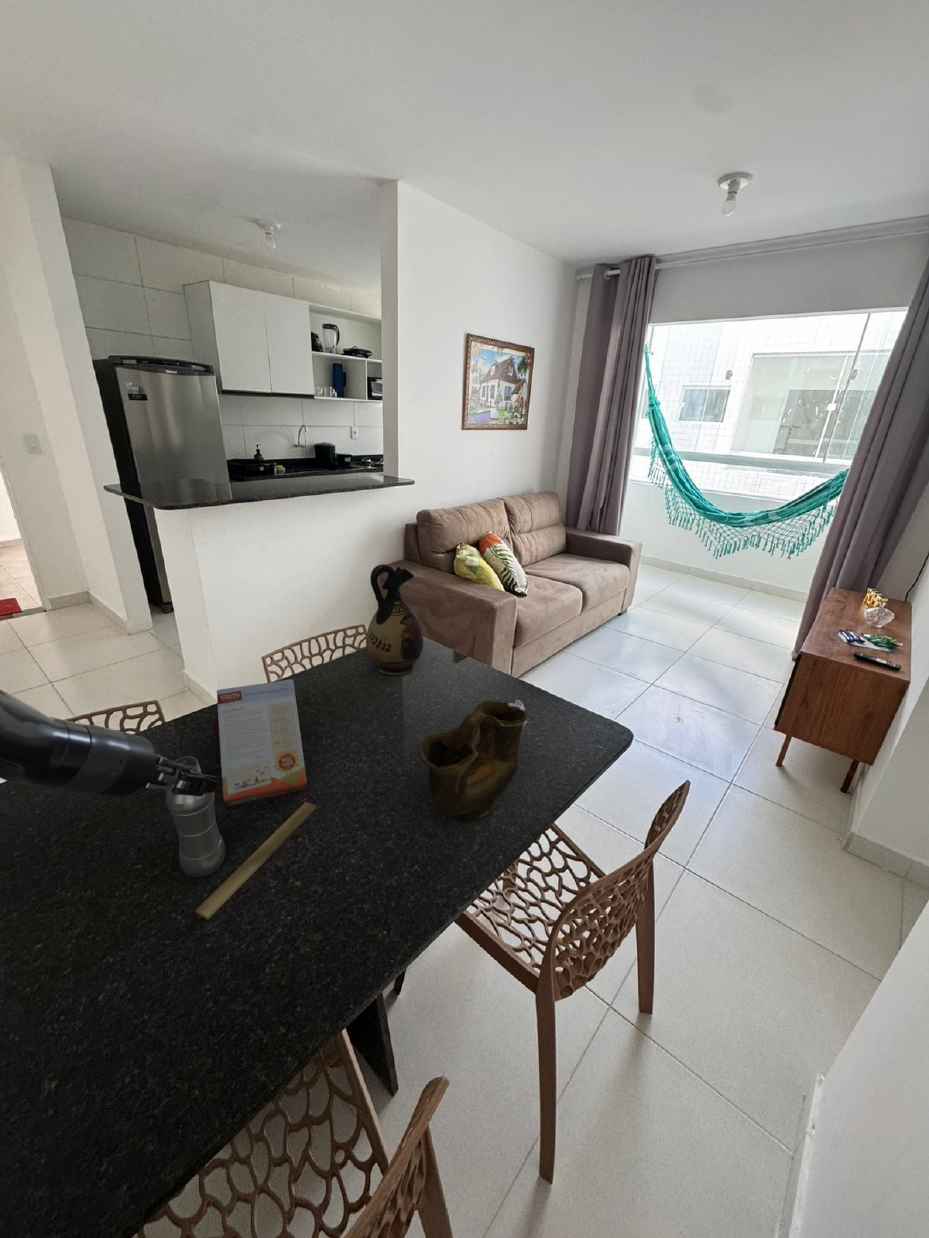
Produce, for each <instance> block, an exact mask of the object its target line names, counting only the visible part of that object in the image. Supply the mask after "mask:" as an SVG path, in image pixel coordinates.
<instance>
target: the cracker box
mask: <svg viewBox="0 0 929 1238" xmlns="http://www.w3.org/2000/svg"><path fill="white" fill-rule="evenodd" d="M216 702H217V716H218V721H219V737H220V745H219V754H220V767H221V780H222V781H221V782H222V796H223V801H224V803H225V804H226V805H227V807H230V806H234V805H239V804H243V803H248V802H252V801H257V800H261V799H265V798H270V797H275V796H280V795H283V794H289V793H294V792H297V791H303V790H306V789H307V783H308V781H307V775H306V774H307V773H306V766H305V759H304V752H303V751H304V750H303V743H302V737H301V729H300V728H301V727H300V721H299V720H300V719H299V714H298V707H297V699H296V692H295V684H294V679H285V680H276V681H270V682H263V683H257V684H249V685H243V686H236V687H234V686H233V687H228V688H221V689H216Z"/></svg>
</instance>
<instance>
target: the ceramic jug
mask: <svg viewBox="0 0 929 1238" xmlns="http://www.w3.org/2000/svg"><path fill="white" fill-rule="evenodd" d="M384 573H387V577H386V578H385V580H384V582H383V584H382V586H381V588H382V589H383V590H386V594H385V597H384V596H383V594H382V592H381V588H380V585H379V577H380V576H381V575H383V574H384ZM369 577H370V586H371V588H372V591H373V594H374V597H375V601H376V602H377V610H376V611H375V613H374V614H373V616H372V618H371V620H370V622H369V625H368V628H367V630H366V631H367V632H366V637H365V647H366V652H367V655H368V656H369V658H370V660H371V661H372V662H373V663H374V664H376V666H377V667H378V671H379V673H382V674H385V675H388V676H403V675H407V674H410V673H412V672H413V668H414V667H413V666H414V665H415V664H416V662H417V661H418V660H419V658H420V657H421V655H422V652H423V649H424V635H423V631H422V627H421V624H420V622H419V620H418V617H416V615H415V613H414V612H413V611H412V609H411V608H410V606H409V605H408V604H407V602H405V600H404V598H402V596H401V591H400V588H401V587H402V586H403V585H404V584H405V583H406V582H408V581H411V580H412V579H414V577H415V576H414V574H413V573H412V572H411V571H409V569H406V568H401V567H400V566H396V569H394V568H393V567H392V566H391V565H388V564H383V563H381V564H378V565H375V567H373V569H372V571H371V572H370V575H369Z"/></svg>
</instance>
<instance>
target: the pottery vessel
mask: <svg viewBox="0 0 929 1238" xmlns="http://www.w3.org/2000/svg"><path fill="white" fill-rule="evenodd" d="M508 703H509V702H508V701H504V702H502V701H494V700H491V699H489V700H488V699H487V700H486V699H485V700H483V701H482V702H479V703H478V704H477V705H476V706H475V707H474V708H473V711H472V712H470V713H469V714H467V716H466V717H465V718H464V719H463V720H462V721H461V723H460V725H459V726H458V727H455V728H452V729H450V730H448V731H444V732H440V733H434V734H431V735H427V736H425V737H424V738H423V740H422V741H421V742H420V743H418V745H417V746H418V751H417V753H418V755H419V757H420V761H421V762H422V763H423V764H424V765H425V766H426V767H427V768H428V778H429V779H428V781H429V782H428V786H429V790H430V794H431V799H433V801H434V804H435V805H436V807H437V808H438V809H439V811H440V812H441V813H443V814H444V815H446V816H451V817H452V816H453V817H455V818H457V819H459V821H461V822H465V823H467V822H468V823H469V822H478V821H481V820H483V819H485V818H487V817H488V816H490V815H492V813H493V812H494V811H495V810H497V808H498V806H499V805H500V796H501V795H502V794H503V792H504V791H505V790H506V789H507V787H508V785H509V784H510V783H511V780H512V779H513V777H514V776H515V774H516V773H517V770H518V768H519V746H520V741H521V736H522V730H523V728H524V727H523V724H524V722H525V721H526V720H527V721H528V716H529V713H528V711H527V710H525V711H524V710H521V709H520V707H515V706H509V705H508ZM478 730H479V741H478V742H477V744H476V745H475V743H474V742H475V737H476V735H477V734H478Z"/></svg>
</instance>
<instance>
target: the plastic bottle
mask: <svg viewBox="0 0 929 1238" xmlns="http://www.w3.org/2000/svg"><path fill="white" fill-rule="evenodd" d="M173 761H174V762H175V763H178V764H182V765H186V766H187V767H189V768H190V771H193V772H197V773H199V772H200V773H202V772H201V771H202V769H201V767H200V764H199V760H198V759H197V758H196V756H195V757H194V756H191V755H189V756H188V755H187V756H183V757H180V758H177V759H176V760H173ZM179 772H180V769H178V768H176V774H175V777H177V776H178V774H179ZM165 804H166V806H167V809H168V811H169V814H170V816H171V817H172V820H173V822H174V825H175V829H176V832H177V837H178V846H179V850H178V862H179V865H180V867H181V869H182V871H183V872H184V874H185V875H187V876H189V877H193V878H204V877H207V876H210V875H211V874H213V873H214V872H216V871H218V869H219V868H220V866H221V865H222V864H223V862H224V860H225V857H226V844H225V842H224V839H223V837H222V835H221V834H220V831H219V828H218V825H217V819H216V810H215V791H214V792H213V793H208V792H204V794H203V796H190V795H175V794H174V793H172V792H171V791H168V790H166V795H165Z"/></svg>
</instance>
